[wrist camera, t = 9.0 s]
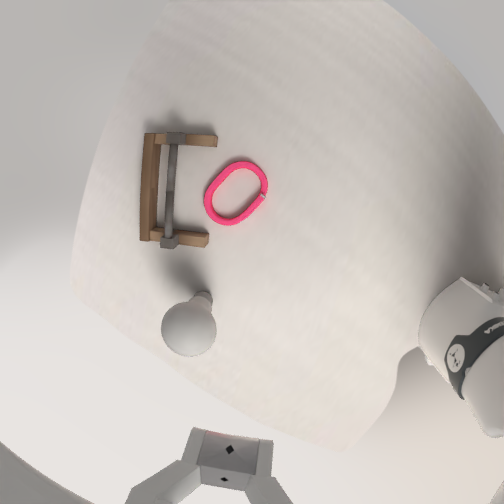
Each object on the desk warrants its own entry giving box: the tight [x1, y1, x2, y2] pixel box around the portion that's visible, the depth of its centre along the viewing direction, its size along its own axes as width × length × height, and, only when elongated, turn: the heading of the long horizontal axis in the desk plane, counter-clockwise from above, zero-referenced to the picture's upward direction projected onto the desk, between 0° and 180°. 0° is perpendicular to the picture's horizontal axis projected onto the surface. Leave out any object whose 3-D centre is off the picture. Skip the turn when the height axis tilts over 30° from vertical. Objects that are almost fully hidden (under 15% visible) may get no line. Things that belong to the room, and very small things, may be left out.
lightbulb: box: [161, 291, 216, 357], centre depth 32 cm, size 6×6×11 cm
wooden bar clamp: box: [140, 132, 218, 249], centre depth 31 cm, size 8×13×4 cm, turn 174°
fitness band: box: [204, 161, 268, 225], centre depth 32 cm, size 8×6×2 cm
